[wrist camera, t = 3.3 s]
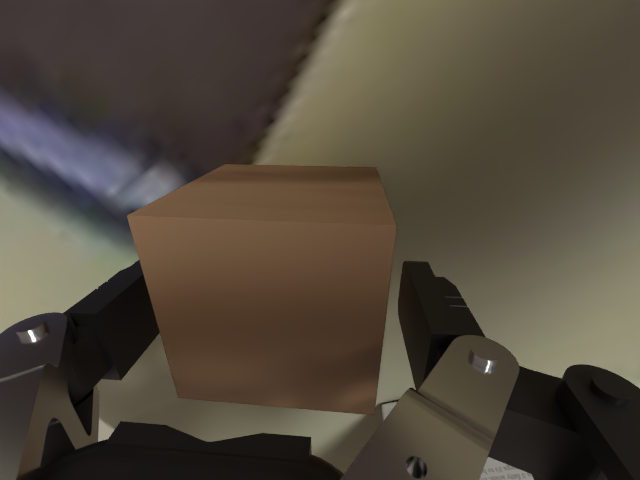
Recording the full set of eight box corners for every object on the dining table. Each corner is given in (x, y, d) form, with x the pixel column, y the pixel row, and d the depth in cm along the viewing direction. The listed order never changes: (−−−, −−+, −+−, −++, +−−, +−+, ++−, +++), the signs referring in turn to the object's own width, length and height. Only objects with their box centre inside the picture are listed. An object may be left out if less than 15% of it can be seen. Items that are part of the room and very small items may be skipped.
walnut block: (225, 163, 12) (126, 215, 7) (375, 167, 12) (396, 225, 6) (241, 288, 15) (178, 397, 9) (365, 295, 14) (374, 415, 9)
